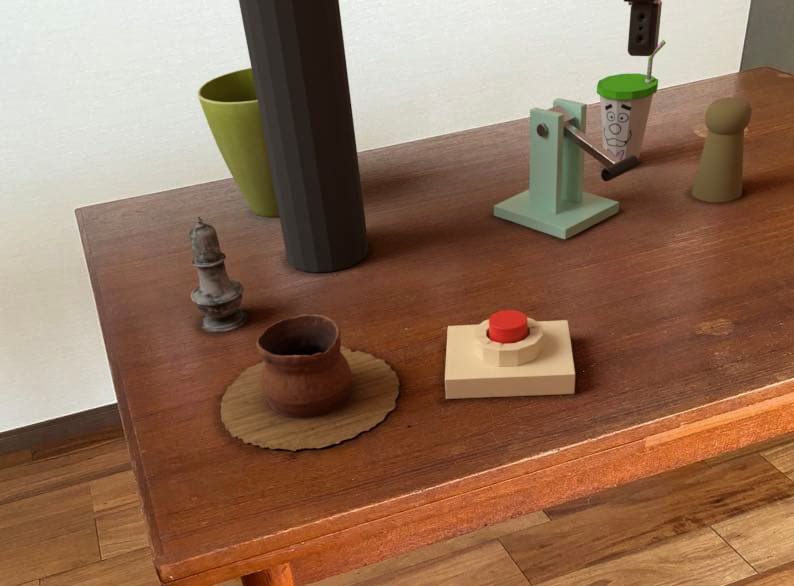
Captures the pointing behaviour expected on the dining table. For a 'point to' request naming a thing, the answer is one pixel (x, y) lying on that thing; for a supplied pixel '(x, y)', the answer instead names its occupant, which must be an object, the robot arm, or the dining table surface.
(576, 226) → the bracket
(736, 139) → the olive pawn
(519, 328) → the button
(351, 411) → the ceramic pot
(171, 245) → the dining table surface
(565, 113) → the lever
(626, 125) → the cup
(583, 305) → the dining table surface
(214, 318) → the salt shaker
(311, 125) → the dark grey column
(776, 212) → the dining table surface
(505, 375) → the button block
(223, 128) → the flower pot
